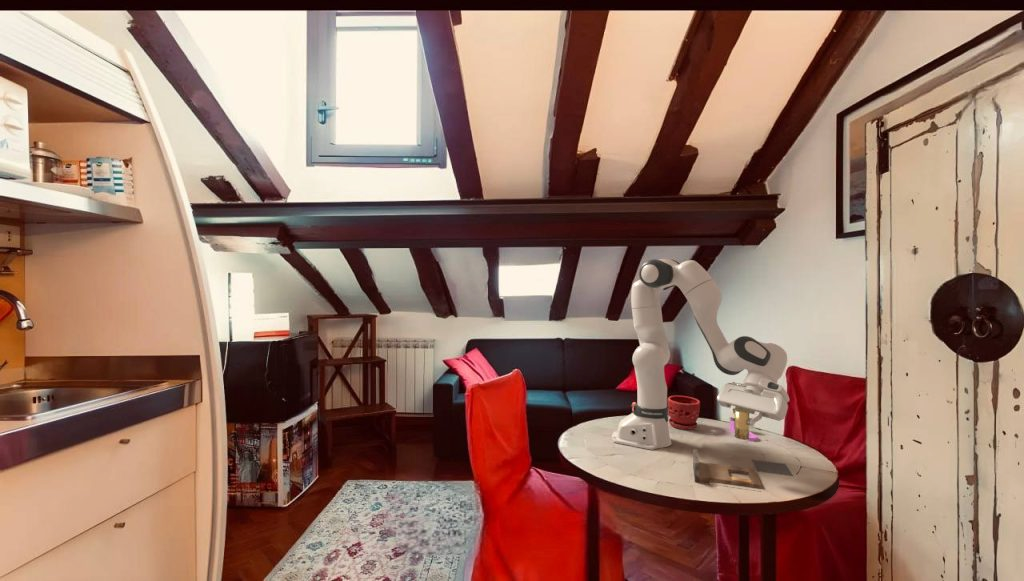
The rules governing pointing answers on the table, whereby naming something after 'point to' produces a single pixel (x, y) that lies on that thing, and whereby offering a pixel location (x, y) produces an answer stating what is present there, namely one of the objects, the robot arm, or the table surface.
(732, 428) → the bracket
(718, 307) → the robot arm
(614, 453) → the table surface
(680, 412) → the plant pot
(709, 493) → the table surface
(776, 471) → the pad
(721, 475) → the socket block
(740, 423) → the brass peg
